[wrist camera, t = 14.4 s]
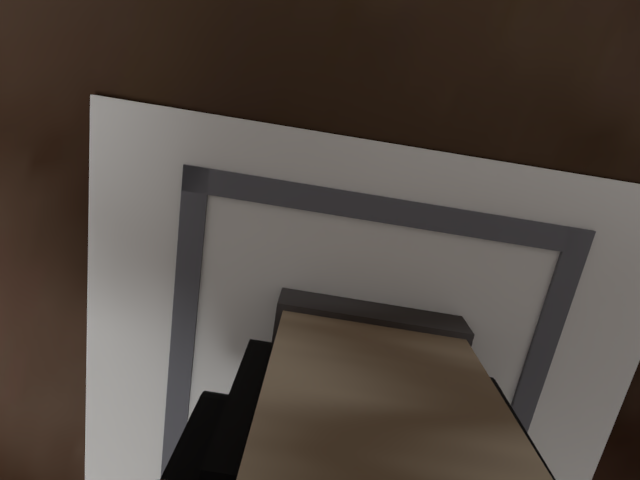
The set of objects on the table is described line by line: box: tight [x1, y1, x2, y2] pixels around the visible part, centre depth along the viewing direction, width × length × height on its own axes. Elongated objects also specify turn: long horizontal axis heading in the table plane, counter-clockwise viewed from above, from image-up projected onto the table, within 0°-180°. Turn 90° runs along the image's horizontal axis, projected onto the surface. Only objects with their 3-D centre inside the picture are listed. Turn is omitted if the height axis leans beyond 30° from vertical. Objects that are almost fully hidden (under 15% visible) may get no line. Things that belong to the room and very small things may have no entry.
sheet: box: [85, 94, 640, 480], centre depth 12 cm, size 14×12×1 cm
